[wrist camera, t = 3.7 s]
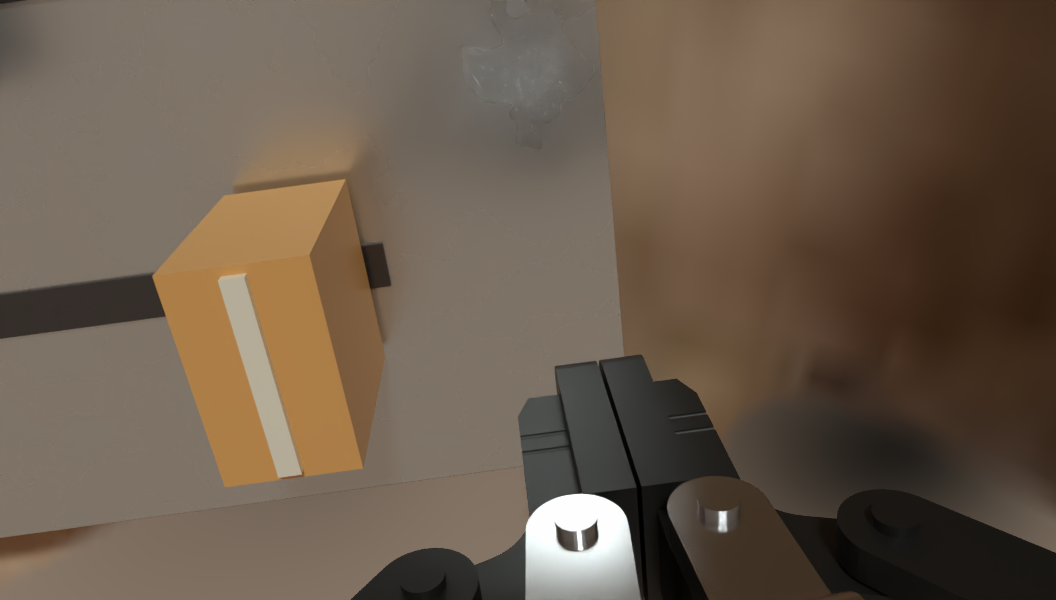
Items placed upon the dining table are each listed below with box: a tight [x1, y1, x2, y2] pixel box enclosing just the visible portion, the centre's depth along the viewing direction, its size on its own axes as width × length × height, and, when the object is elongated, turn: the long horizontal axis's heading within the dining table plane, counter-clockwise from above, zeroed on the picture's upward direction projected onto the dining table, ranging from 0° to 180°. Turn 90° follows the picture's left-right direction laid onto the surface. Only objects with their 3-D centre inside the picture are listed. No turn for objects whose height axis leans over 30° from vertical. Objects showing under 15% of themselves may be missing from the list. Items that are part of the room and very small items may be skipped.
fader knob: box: [152, 179, 385, 487], centre depth 19 cm, size 3×5×5 cm, turn 7°
